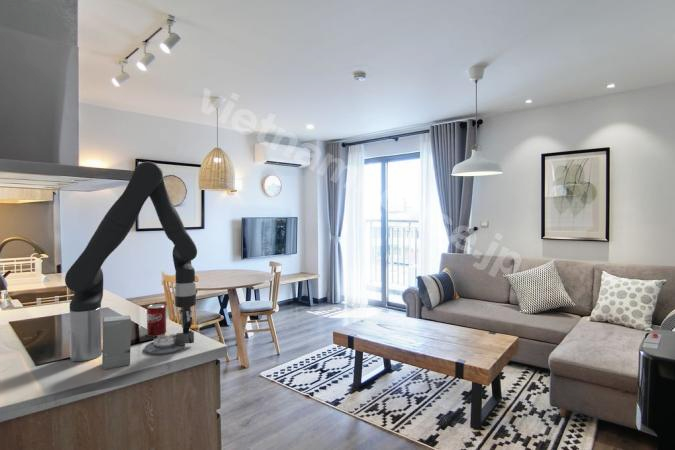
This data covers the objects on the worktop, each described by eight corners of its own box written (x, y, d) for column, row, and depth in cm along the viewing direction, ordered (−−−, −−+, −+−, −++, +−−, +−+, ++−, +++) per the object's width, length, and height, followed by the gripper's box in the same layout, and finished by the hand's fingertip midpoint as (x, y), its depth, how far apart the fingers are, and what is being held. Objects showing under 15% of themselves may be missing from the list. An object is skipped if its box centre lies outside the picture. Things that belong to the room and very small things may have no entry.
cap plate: (150, 358, 133) (150, 354, 133) (140, 347, 143) (140, 343, 143) (190, 349, 142) (190, 345, 142) (178, 339, 153) (178, 336, 152)
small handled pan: (150, 349, 138) (150, 336, 138) (157, 341, 146) (157, 329, 146) (190, 347, 140) (190, 335, 140) (195, 340, 148) (195, 328, 148)
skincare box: (102, 370, 123) (101, 322, 122) (102, 362, 129) (101, 316, 128) (131, 365, 127) (131, 318, 126) (130, 357, 133) (129, 313, 132)
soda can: (158, 337, 154) (158, 308, 154) (143, 336, 156) (142, 307, 155) (169, 332, 161) (169, 304, 161) (155, 330, 163) (154, 303, 162)
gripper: (199, 295, 143) (199, 340, 143) (192, 289, 154) (193, 331, 155) (177, 298, 139) (178, 344, 140) (172, 291, 150) (173, 334, 151)
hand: (186, 337), depth 147 cm, fingers closed
